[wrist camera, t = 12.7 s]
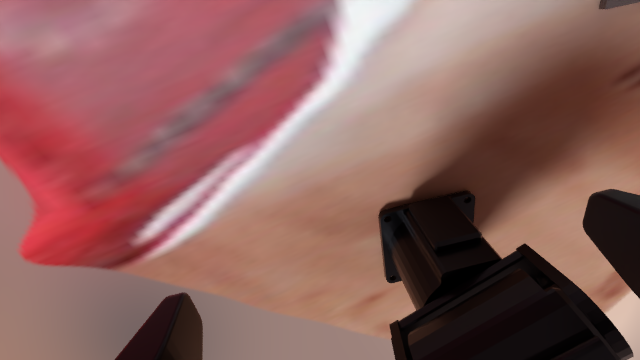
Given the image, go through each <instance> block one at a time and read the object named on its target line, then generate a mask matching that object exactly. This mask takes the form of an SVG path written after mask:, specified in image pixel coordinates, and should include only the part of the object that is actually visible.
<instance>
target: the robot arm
mask: <svg viewBox="0 0 640 360" xmlns="http://www.w3.org/2000/svg"><path fill="white" fill-rule="evenodd" d="M467 197H468V198H467ZM465 198H467V199H466V200H465ZM474 206H475V196H474V195H473V194H472V193H471V192H470V191H462V192H458V193H454V194H450V195H445V196H441V197H437V198H433V199H429V200H424V201H420V202H416V203H412V204H408V205H404V206H399V207H395V208H391V209H387V210H384V211H382V212H381V213H380V214H379V217H378V218H379V227H380V236H381V245H382V255H383V264H384V273H385V277H386V280H387V282H389V283H395V282H399V281H403V284H404V286H405V288H406V290H407V292H408V294H409V296H410V298H411V300H412V302H413V304H414V306H415V309H416V311H415V312H413V313H412V314H410V315H408V316H407V317H405V318H403V319H402V320H400V321H398V320H397V321H395V322H393V323H392V324H390V330H391V335H392V338H391V340H392V345H393V350H394V355H395V359H396V360H627V359H629V358H631V357H633V352H632V350H631V348H630V346H629V345H628V343H627V342H626V340H625V339H624V337H623V336H622V335H621V333H620V332H619V331H618V329H617V328H616V327H615V326H614V324H613V323H612V322H611V321H610V320H609V318H608V317H607V316H606V315H605V314H604V313H603V312H602V311H601V309H600V308H599V307H598V306H597V305H596V304H595V303H594V302H593V301H592V300H591V299H590V298H589V297H588V296H587V295H586V294H585V293H584V292H583V291H582V290H581V289H580V288H579V287H578V286H577V285H575V284H574V283H573V282H572V281H571V280H569V279H568V278H567V277H566V276H565V275H563V274H562V273H561V272H560V271H558V270H557V269H556V268H555V267H553V266H552V265H551V264H550V263H549V262H547V261H546V260H545V259H544V258H542V257H541V256H540V255H539V254H538V253H536V252H535V251H534V250H533V249H531V248H530V247H529V246H528V245H527V244H523V245H521V246H520V247H518V248H516V250H517V251H515V252H513V253H512V254H510V255H508V256H507V257H505V258H503V259H502V258H501V257H500V256H499V255H498V253H497V252H496V251H495V250H494V249H493V248H492V247H491V245H490V244H489V243H488V242H487V241H486V240H485V239H484V237H483V236H482V233H481V232H480V231H479V230H478V228H477V227H476V226H475V225H474V224H473V221H474ZM387 216H389V217H388V218H387V219H384V218H385V217H387ZM583 228H584V230H585V232H586V234H587V235H588V236H589V238H590V239H591V240H592V241H593V243H594V244H595V245H596V246H597V248H598V249H599V250H600V251H601V253H602V254H603V255H604V256H605V258H606V259H607V260H608V261H609V263H610V264H611V265H612V266H613V268H614V269H615V270H616V271H617V273H618V274H619V275H620V276H621V278H622V279H623V280H624V281H625V282H626V284H627V285H628V286H629V287H630V288H631V290H632V291H633V292H634V293H635V294H636V295H637V296H638V297H639V298H640V195H636V194H632V193H627V192H623V191H619V190H615V189H608V190H604V191H600V192H596V193H593V194H592V195H591V196H590V197H589V200H588V203H587V207H586V211H585V215H584V218H583ZM391 276H392V277H391ZM202 343H203V326H202V320H201V317H200V315H199V313H198V311H197V309H196V308H195V305H194V304H193V302H192V300H191V298H190V296H189V295H188V294H187V293H179V294H175V295H171V296H168V297H166V298H165V299H164V300H163V301H162V302H161V303H160V304H159V306H158V307H157V308H156V310H155V311H154V312H153V313H152V314H151V316H150V317H149V318H148V319H147V320H146V322H145V323H144V324H143V326H142V327H141V328H140V329H139V330H138V332H137V333H136V334H135V335H134V337H133V338H132V339H131V340H130V341H129V343H128V344H127V345H126V346H125V348H124V349H123V350H122V351H121V352H120V354H119V355H118V356H117V357H116V359H115V360H202V351H203V346H202V345H203V344H202Z"/></svg>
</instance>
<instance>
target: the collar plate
mask: <svg viewBox="0 0 640 360" xmlns="http://www.w3.org/2000/svg"><path fill="white" fill-rule="evenodd" d="M637 2H640V0H601V2H600V6H599V9H609V8H614V7H618V6H623V5H627V4H632V3H637Z"/></svg>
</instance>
